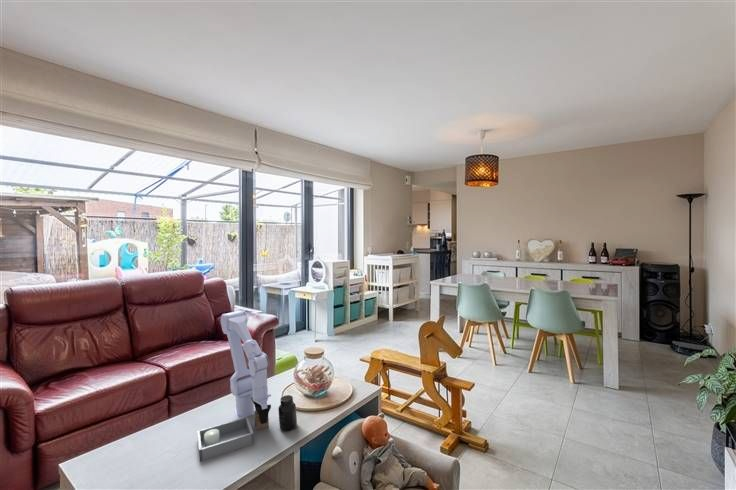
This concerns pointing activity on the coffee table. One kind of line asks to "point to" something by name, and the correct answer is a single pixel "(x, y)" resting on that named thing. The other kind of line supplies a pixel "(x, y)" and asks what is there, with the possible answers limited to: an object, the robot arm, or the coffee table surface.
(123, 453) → the coffee table surface
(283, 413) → the supplement bottle
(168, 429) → the coffee table surface
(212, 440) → the pale green cylinder
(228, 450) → the tote
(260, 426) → the walnut block
